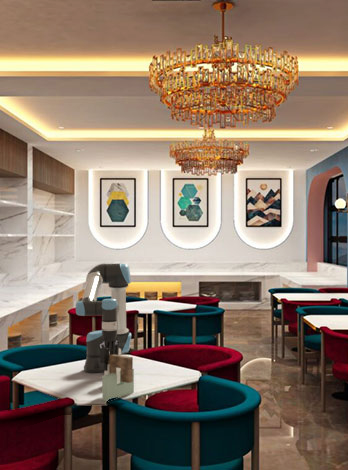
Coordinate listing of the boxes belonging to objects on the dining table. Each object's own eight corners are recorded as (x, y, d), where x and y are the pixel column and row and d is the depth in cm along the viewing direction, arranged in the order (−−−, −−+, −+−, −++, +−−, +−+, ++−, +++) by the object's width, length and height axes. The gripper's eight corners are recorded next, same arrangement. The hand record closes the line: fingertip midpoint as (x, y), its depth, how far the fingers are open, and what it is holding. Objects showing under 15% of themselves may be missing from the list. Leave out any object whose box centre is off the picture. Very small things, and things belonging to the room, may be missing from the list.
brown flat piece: (104, 378, 274) (104, 354, 274) (108, 377, 277) (108, 353, 277) (128, 382, 265) (128, 358, 265) (132, 381, 267) (132, 357, 267)
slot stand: (106, 401, 262) (106, 376, 262) (102, 400, 263) (102, 375, 264) (133, 392, 278) (133, 368, 278) (129, 391, 280) (129, 368, 280)
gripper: (103, 332, 266) (103, 380, 266) (125, 328, 279) (125, 374, 279) (92, 331, 270) (92, 378, 270) (114, 327, 283) (114, 372, 283)
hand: (109, 376), depth 274 cm, fingers closed on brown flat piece, 3 cm apart
